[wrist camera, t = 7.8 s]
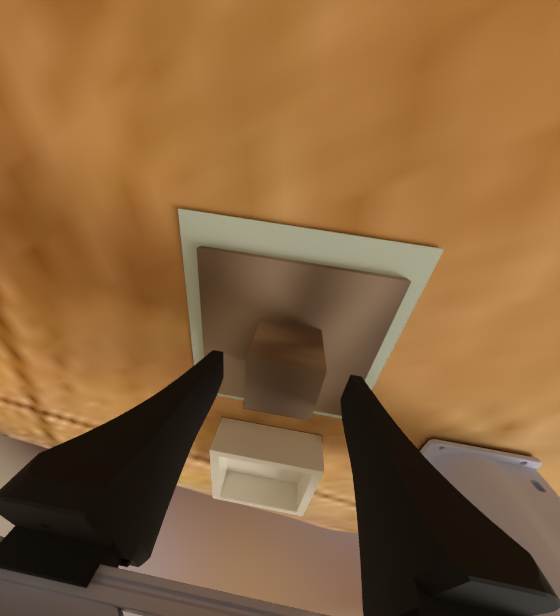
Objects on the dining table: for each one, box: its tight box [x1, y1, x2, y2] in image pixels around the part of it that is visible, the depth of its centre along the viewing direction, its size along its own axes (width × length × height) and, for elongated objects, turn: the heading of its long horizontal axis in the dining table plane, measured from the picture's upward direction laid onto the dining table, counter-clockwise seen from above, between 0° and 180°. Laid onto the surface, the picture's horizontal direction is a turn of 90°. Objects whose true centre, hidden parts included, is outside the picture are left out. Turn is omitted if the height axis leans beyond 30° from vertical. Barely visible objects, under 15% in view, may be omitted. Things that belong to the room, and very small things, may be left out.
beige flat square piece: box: [178, 209, 444, 419], centre depth 14 cm, size 14×15×1 cm
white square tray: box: [209, 417, 324, 516], centre depth 21 cm, size 10×10×3 cm
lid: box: [196, 246, 411, 421], centre depth 13 cm, size 12×12×4 cm
